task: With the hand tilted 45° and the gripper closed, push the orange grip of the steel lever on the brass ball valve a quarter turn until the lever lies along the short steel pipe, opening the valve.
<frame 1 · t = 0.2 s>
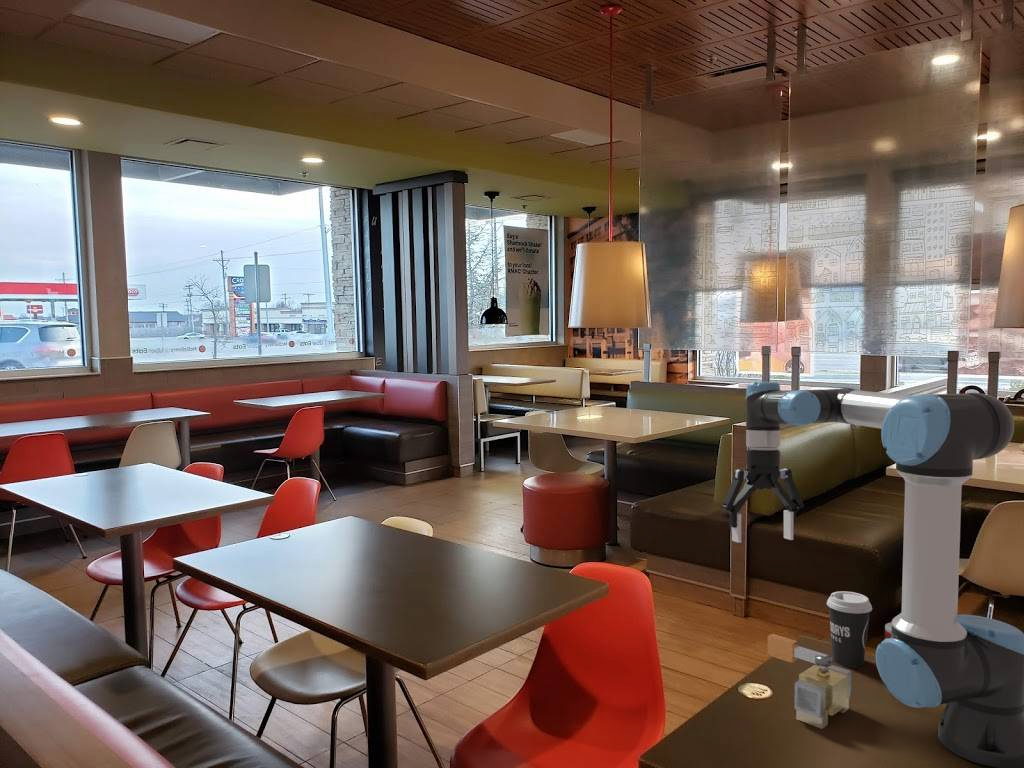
hand: (762, 540, 180), 27 cm above the table, tool pointing down, fingers open, 13 cm apart
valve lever: (799, 653, 157), point 11 cm above the table, hinge at 0.0°
canned food: (903, 678, 170), on the table
valve body: (822, 714, 154), on the table
coffee cup: (848, 661, 178), on the table
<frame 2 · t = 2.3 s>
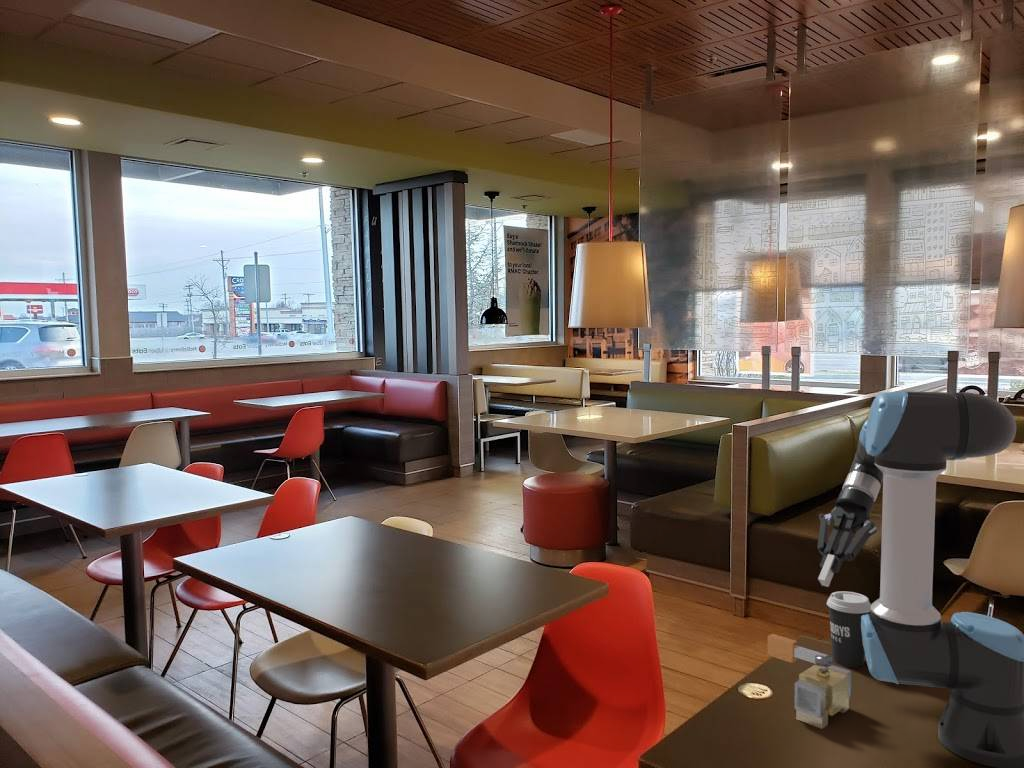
hand: (823, 582, 170), 21 cm above the table, tool tilted 45°, fingers closed
nothing on the table moved.
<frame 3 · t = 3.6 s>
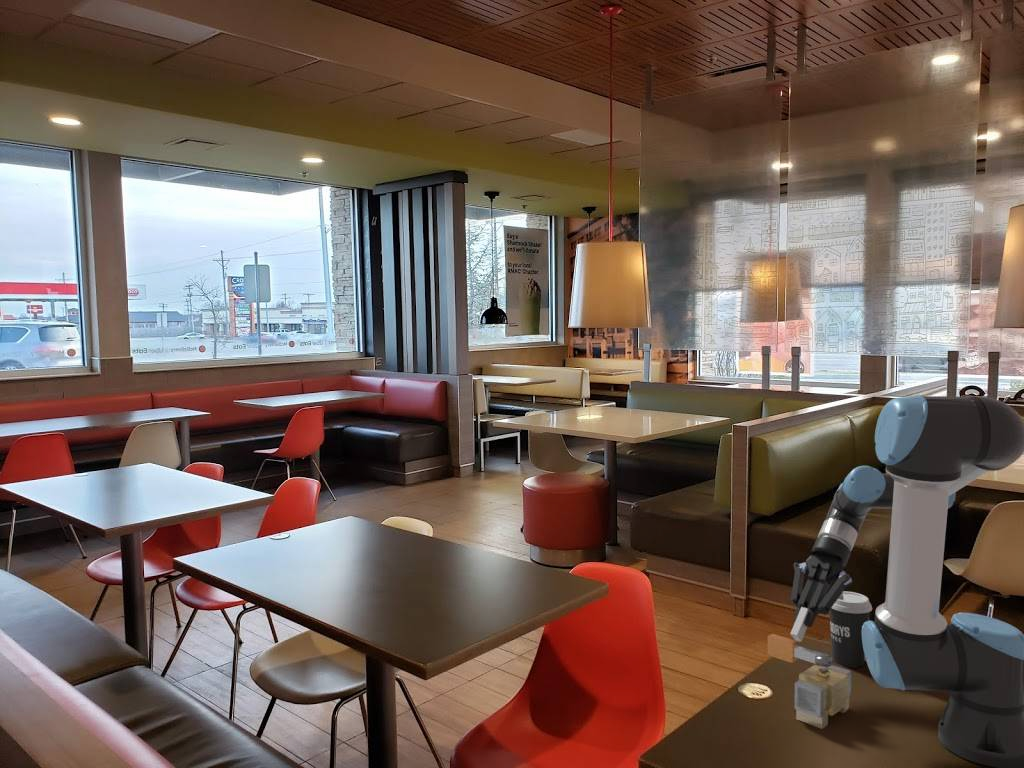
hand: (795, 637, 163), 11 cm above the table, tool tilted 45°, fingers closed
nothing on the table moved.
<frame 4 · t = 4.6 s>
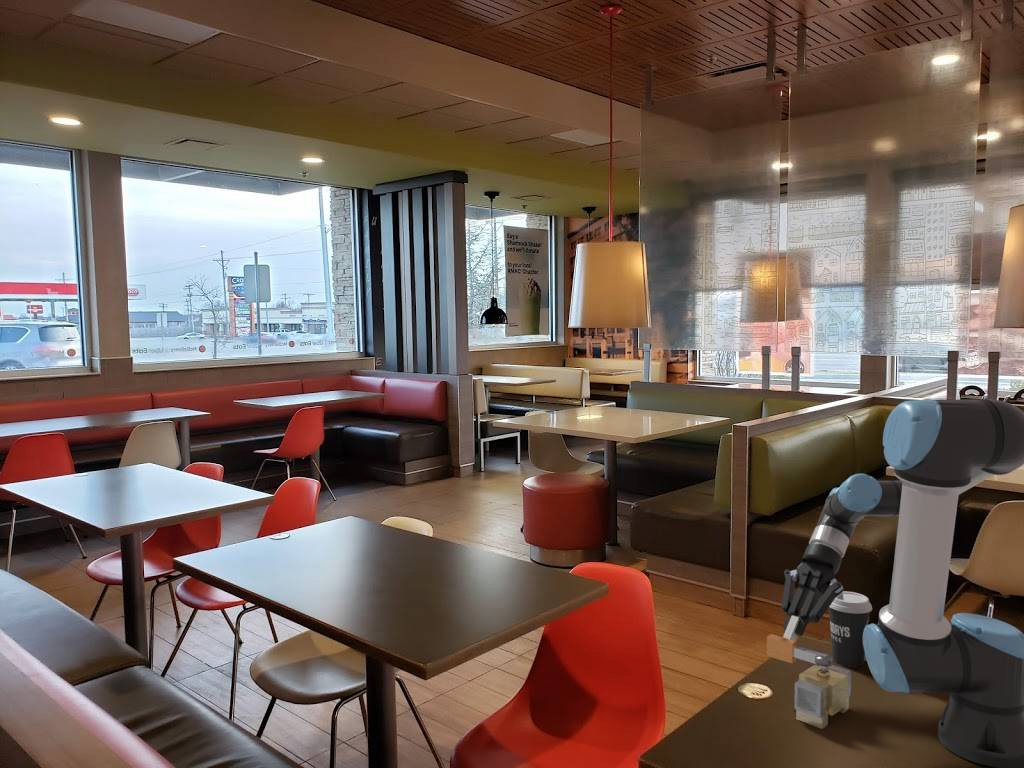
hand: (786, 646, 161), 10 cm above the table, tool tilted 45°, fingers closed
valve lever: (799, 653, 157), point 11 cm above the table, hinge at 2.0°, touching gripper
everything else where it was.
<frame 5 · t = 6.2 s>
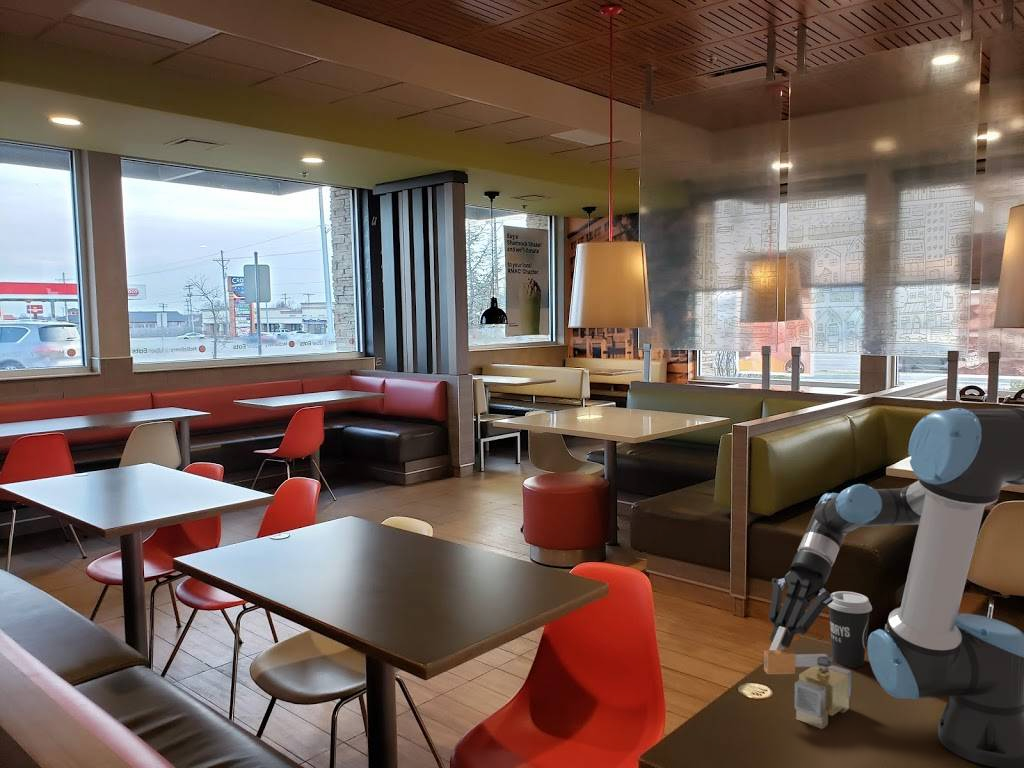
hand: (772, 658, 155), 11 cm above the table, tool tilted 45°, fingers closed
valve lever: (798, 661, 153), point 11 cm above the table, hinge at 49.1°, touching gripper
everything else where it was.
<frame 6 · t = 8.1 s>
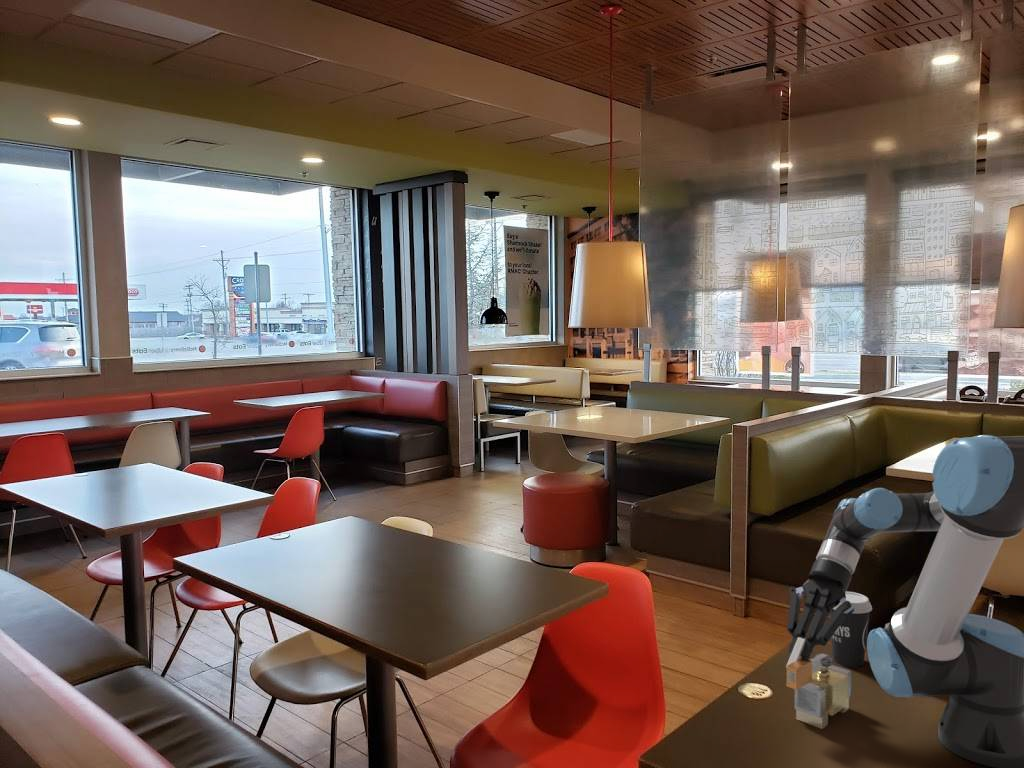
hand: (791, 671, 149), 11 cm above the table, tool tilted 45°, fingers closed
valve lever: (810, 668, 150), point 11 cm above the table, hinge at 86.4°, touching gripper
everything else where it was.
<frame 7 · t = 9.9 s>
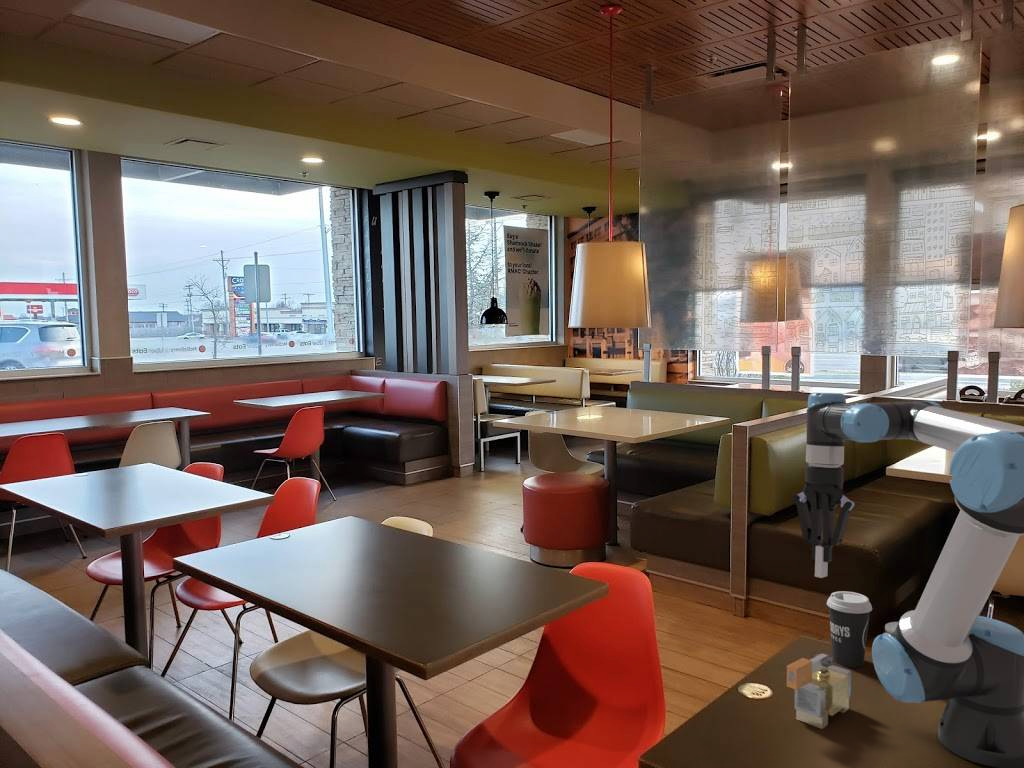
hand: (821, 576, 165), 24 cm above the table, tool pointing down, fingers closed
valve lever: (810, 668, 150), point 11 cm above the table, hinge at 86.6°
everything else where it was.
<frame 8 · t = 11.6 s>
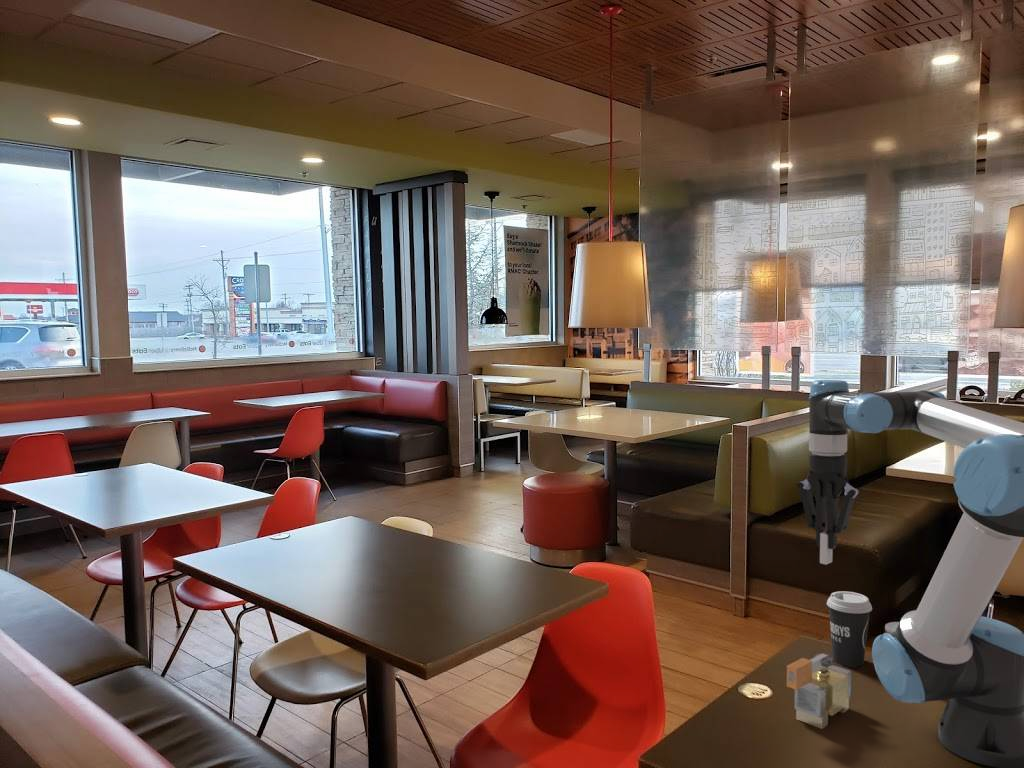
hand: (826, 562, 166), 26 cm above the table, tool pointing down, fingers closed
nothing on the table moved.
at the end: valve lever at +87° (first picture: +0°); coffee cup moved 0.2 cm from its start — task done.
